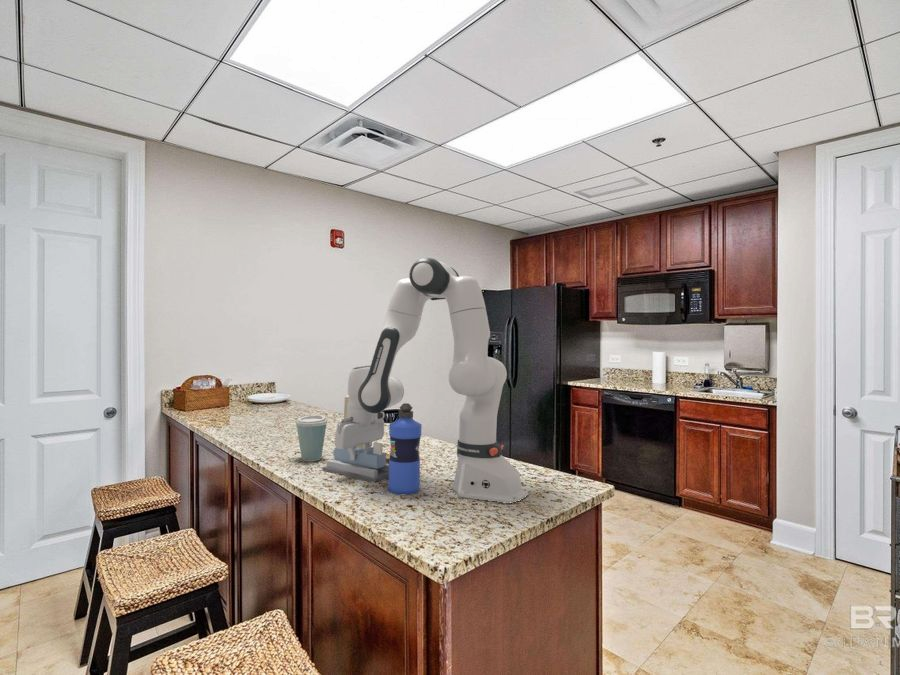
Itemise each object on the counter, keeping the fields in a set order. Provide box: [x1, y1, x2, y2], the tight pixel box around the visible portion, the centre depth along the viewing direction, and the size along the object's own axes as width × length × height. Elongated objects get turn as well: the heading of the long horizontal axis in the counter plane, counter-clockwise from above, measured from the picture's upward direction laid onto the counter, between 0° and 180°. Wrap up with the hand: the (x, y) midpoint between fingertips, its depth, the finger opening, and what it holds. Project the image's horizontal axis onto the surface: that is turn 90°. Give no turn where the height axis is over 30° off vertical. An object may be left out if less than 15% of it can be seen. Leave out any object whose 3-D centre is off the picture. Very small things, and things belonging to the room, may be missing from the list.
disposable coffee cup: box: [295, 414, 328, 463], centre depth 167 cm, size 11×11×15 cm
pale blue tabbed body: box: [332, 441, 387, 469], centre depth 154 cm, size 20×4×8 cm, turn 59°
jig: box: [322, 459, 389, 483], centre depth 153 cm, size 22×11×3 cm, turn 59°
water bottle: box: [387, 402, 423, 495], centre depth 137 cm, size 9×9×25 cm
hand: (359, 457), depth 153 cm, fingers closed on pale blue tabbed body, 4 cm apart
